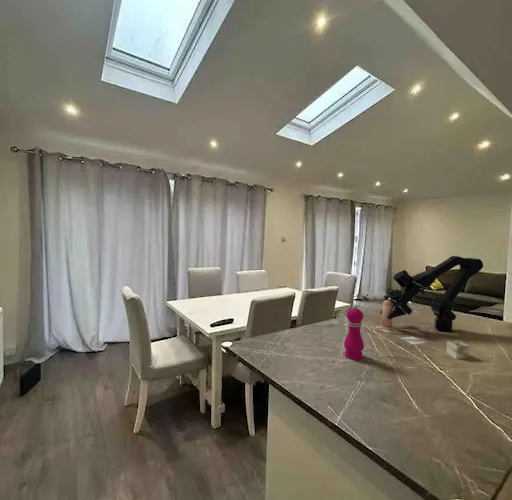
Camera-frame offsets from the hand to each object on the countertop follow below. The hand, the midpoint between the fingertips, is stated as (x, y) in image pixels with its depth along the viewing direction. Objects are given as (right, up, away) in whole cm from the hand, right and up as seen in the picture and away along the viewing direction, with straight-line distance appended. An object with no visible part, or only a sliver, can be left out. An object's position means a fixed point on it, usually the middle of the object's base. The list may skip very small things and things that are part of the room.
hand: (384, 316), depth 143 cm
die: (+15, -9, -30) cm, 34 cm away
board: (+4, -7, -7) cm, 11 cm away
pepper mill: (-26, -9, -31) cm, 41 cm away
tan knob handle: (+1, -6, 0) cm, 6 cm away
